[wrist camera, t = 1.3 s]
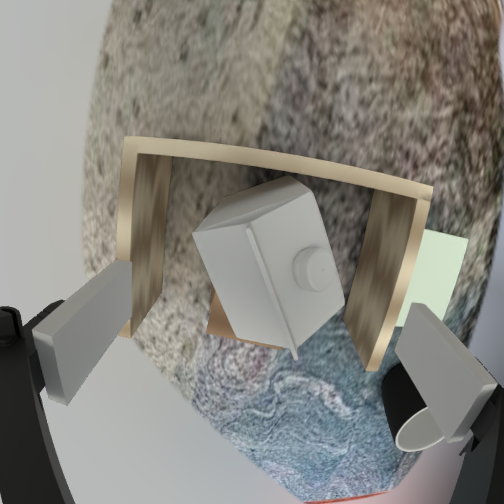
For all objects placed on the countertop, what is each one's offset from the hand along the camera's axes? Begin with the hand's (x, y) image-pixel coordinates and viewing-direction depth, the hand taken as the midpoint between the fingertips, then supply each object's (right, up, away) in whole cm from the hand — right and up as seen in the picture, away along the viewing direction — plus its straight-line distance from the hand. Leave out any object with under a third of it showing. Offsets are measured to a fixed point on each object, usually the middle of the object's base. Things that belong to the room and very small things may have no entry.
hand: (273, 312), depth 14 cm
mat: (+18, 0, +20) cm, 27 cm away
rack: (0, +5, +19) cm, 20 cm away
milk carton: (+1, +6, +19) cm, 20 cm away
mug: (+20, -13, +24) cm, 34 cm away
